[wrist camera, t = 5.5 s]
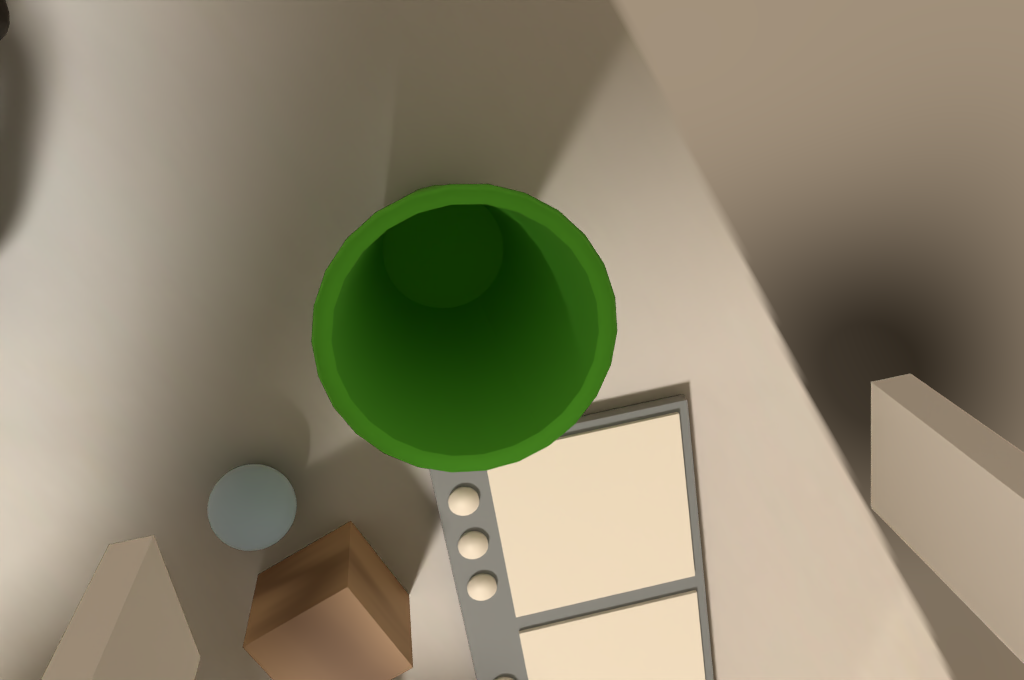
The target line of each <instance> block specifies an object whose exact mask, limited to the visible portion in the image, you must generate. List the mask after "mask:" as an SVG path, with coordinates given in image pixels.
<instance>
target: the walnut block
mask: <svg viewBox="0 0 1024 680" xmlns="http://www.w3.org/2000/svg"><path fill="white" fill-rule="evenodd" d="M243 648H244V649H245V650H246V651H247V652H248V653H249V654H250V656H251V657H252V658H253V659H254V660H255V661H256V662H257V663H258V664H259V665H260V666H261V668H262V669H263V670H264V671H265V672H266V673H267V674H268V675H269V676H270V677H271V678H272V680H391V679H393V678H395V677H397V676H399V675H400V674H402V673H404V672H406V671H407V670H409V669H411V668H413V658H412V640H411V622H410V604H409V595H408V593H407V592H406V591H405V589H404V588H403V587H402V586H401V584H400V583H399V582H398V581H397V579H396V578H395V577H394V575H393V574H392V573H391V572H390V570H389V569H388V568H387V566H386V565H385V564H384V563H383V561H382V560H381V559H380V557H379V556H378V555H377V554H376V552H375V551H374V550H373V549H372V547H371V546H370V545H369V543H368V542H367V541H366V540H365V538H364V537H363V536H362V534H361V533H360V532H359V531H358V529H357V528H356V527H355V526H354V524H353V523H352V522H351V521H350V522H348V523H346V524H345V525H343V526H341V527H339V528H338V529H336V530H334V531H333V532H331V533H329V534H327V535H326V536H324V537H322V538H321V539H319V540H317V541H315V542H314V543H312V544H310V545H308V546H307V547H305V548H303V549H302V550H300V551H298V552H296V553H295V554H293V555H291V556H289V557H288V558H286V559H284V560H283V561H281V562H279V563H277V564H276V565H274V566H272V567H271V568H269V569H267V570H265V571H264V572H262V573H260V574H258V578H257V583H256V588H255V592H254V597H253V602H252V606H251V611H250V616H249V620H248V625H247V630H246V634H245V639H244V644H243Z"/></svg>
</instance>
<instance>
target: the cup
mask: <svg viewBox="0 0 1024 680" xmlns="http://www.w3.org/2000/svg"><path fill="white" fill-rule="evenodd" d="M616 335H617V320H616V303H615V295H614V292H613V289H612V286H611V283H610V280H609V277H608V274H607V271H606V268H605V265H604V263H603V262H602V260H601V258H600V257H599V255H598V254H597V252H596V251H595V249H594V248H593V246H592V245H591V243H590V241H589V240H588V238H587V237H586V235H585V234H584V233H583V232H582V231H580V230H579V229H578V228H577V227H576V226H575V225H574V224H573V223H572V222H571V221H569V220H568V219H567V218H566V217H565V216H564V215H563V214H562V213H561V212H560V211H558V210H557V209H555V208H553V207H551V206H549V205H547V204H545V203H543V202H541V201H540V200H538V199H536V198H534V197H532V196H530V195H528V194H526V193H523V192H519V191H515V190H511V189H507V188H503V187H498V186H494V185H490V184H448V185H434V186H430V187H426V188H422V189H419V190H417V191H415V192H413V193H411V194H409V195H407V196H405V197H404V198H402V199H400V200H398V201H396V202H394V203H393V204H391V205H389V206H387V207H385V208H383V209H381V210H379V211H378V212H376V213H374V214H373V215H372V216H371V217H370V218H369V219H368V220H367V221H366V222H365V223H363V224H362V225H361V226H360V227H359V228H358V229H357V230H356V231H355V232H354V233H352V234H351V235H350V236H349V237H348V238H347V239H346V240H345V242H344V243H343V245H342V246H341V248H340V249H339V251H338V253H337V254H336V256H335V257H334V259H333V260H332V262H331V263H330V265H329V266H328V268H327V269H326V271H325V274H324V277H323V280H322V283H321V286H320V288H319V291H318V294H317V297H316V300H315V303H314V308H313V324H312V339H311V342H312V347H313V352H314V357H315V362H316V367H317V372H318V377H319V379H320V381H321V383H322V385H323V387H324V389H325V391H326V393H327V395H328V397H329V399H330V401H331V403H332V405H333V407H334V408H335V410H336V411H337V412H338V413H339V414H340V415H341V417H342V418H343V419H344V420H345V421H346V422H347V423H348V425H349V426H350V427H351V428H352V429H353V430H354V432H355V433H356V434H358V435H359V436H360V437H362V438H363V439H365V440H366V441H367V442H369V443H370V444H372V445H373V446H374V447H376V448H377V449H379V450H380V451H381V452H383V453H384V454H387V455H389V456H392V457H394V458H397V459H399V460H402V461H404V462H407V463H409V464H412V465H414V466H417V467H420V468H427V469H433V470H439V471H445V472H451V473H453V472H471V471H486V470H490V469H494V468H497V467H501V466H505V465H508V464H512V463H516V462H519V461H521V460H523V459H525V458H527V457H529V456H531V455H532V454H534V453H536V452H538V451H540V450H542V449H544V448H546V447H548V446H549V445H551V444H552V443H553V442H554V441H555V440H557V439H558V438H559V437H560V436H561V435H563V434H564V433H565V432H566V431H567V430H569V429H570V428H571V427H572V426H573V425H575V424H576V422H577V421H578V420H579V418H580V417H581V416H582V414H583V413H584V412H585V411H586V409H587V408H588V407H589V405H590V404H591V403H592V401H593V400H594V399H595V398H596V396H597V394H598V392H599V390H600V388H601V385H602V383H603V381H604V379H605V377H606V374H607V372H608V370H609V368H610V366H611V362H612V356H613V351H614V346H615V340H616Z"/></svg>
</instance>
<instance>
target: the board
mask: <svg viewBox="0 0 1024 680" xmlns="http://www.w3.org/2000/svg"><path fill="white" fill-rule="evenodd" d="M429 470H430V475H431V479H432V484H433V488H434V493H435V497H436V501H437V506H438V510H439V515H440V519H441V524H442V528H443V532H444V537H445V541H446V546H447V550H448V554H449V559H450V563H451V568H452V572H453V577H454V581H455V585H456V590H457V594H458V599H459V603H460V607H461V612H462V616H463V621H464V625H465V630H466V634H467V638H468V643H469V647H470V652H471V656H472V660H473V665H474V669H475V674H476V678H477V680H714V678H713V667H712V657H711V646H710V636H709V625H708V614H707V604H706V593H705V582H704V572H703V561H702V551H701V540H700V529H699V519H698V508H697V497H696V487H695V476H694V466H693V455H692V444H691V434H690V423H689V412H688V402H687V399H686V398H685V396H684V395H683V394H682V395H678V396H673V397H668V398H664V399H659V400H654V401H650V402H645V403H640V404H636V405H631V406H627V407H622V408H617V409H613V410H608V411H603V412H599V413H594V414H589V415H585V416H581V417H580V418H579V420H578V421H577V422H576V424H575V425H573V426H572V427H571V428H570V429H569V430H567V431H566V432H565V433H564V434H563V435H561V436H560V437H559V438H558V439H557V440H555V441H554V442H553V443H552V444H551V445H549V446H548V447H546V448H544V449H542V450H540V451H538V452H536V453H534V454H532V455H531V456H529V457H527V458H525V459H523V460H521V461H519V462H516V463H512V464H508V465H505V466H501V467H497V468H494V469H490V470H486V471H471V472H453V473H451V472H445V471H439V470H433V469H429Z"/></svg>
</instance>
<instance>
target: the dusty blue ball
mask: <svg viewBox="0 0 1024 680" xmlns="http://www.w3.org/2000/svg"><path fill="white" fill-rule="evenodd" d="M296 508H297V502H296V496H295V492H294V489H293V487H292V485H291V484H290V482H289V481H288V479H287V478H286V477H285V476H284V475H283V474H282V473H280V472H279V471H277V470H276V469H274V468H272V467H269V466H266V465H261V464H249V465H243V466H240V467H237V468H235V469H233V470H231V471H229V472H228V473H226V474H225V475H224V476H223V477H222V478H221V479H220V480H219V481H218V482H217V483H216V485H215V486H214V488H213V490H212V492H211V494H210V497H209V501H208V508H207V511H208V519H209V523H210V525H211V528H212V530H213V531H214V533H215V534H216V536H217V537H218V538H219V539H220V540H221V541H222V542H224V543H225V544H226V545H228V546H230V547H232V548H235V549H238V550H243V551H256V550H261V549H265V548H267V547H270V546H271V545H273V544H275V543H277V542H278V541H279V540H280V539H281V538H283V537H284V536H285V534H286V533H287V532H288V531H289V529H290V527H291V526H292V524H293V521H294V518H295V515H296Z"/></svg>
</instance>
